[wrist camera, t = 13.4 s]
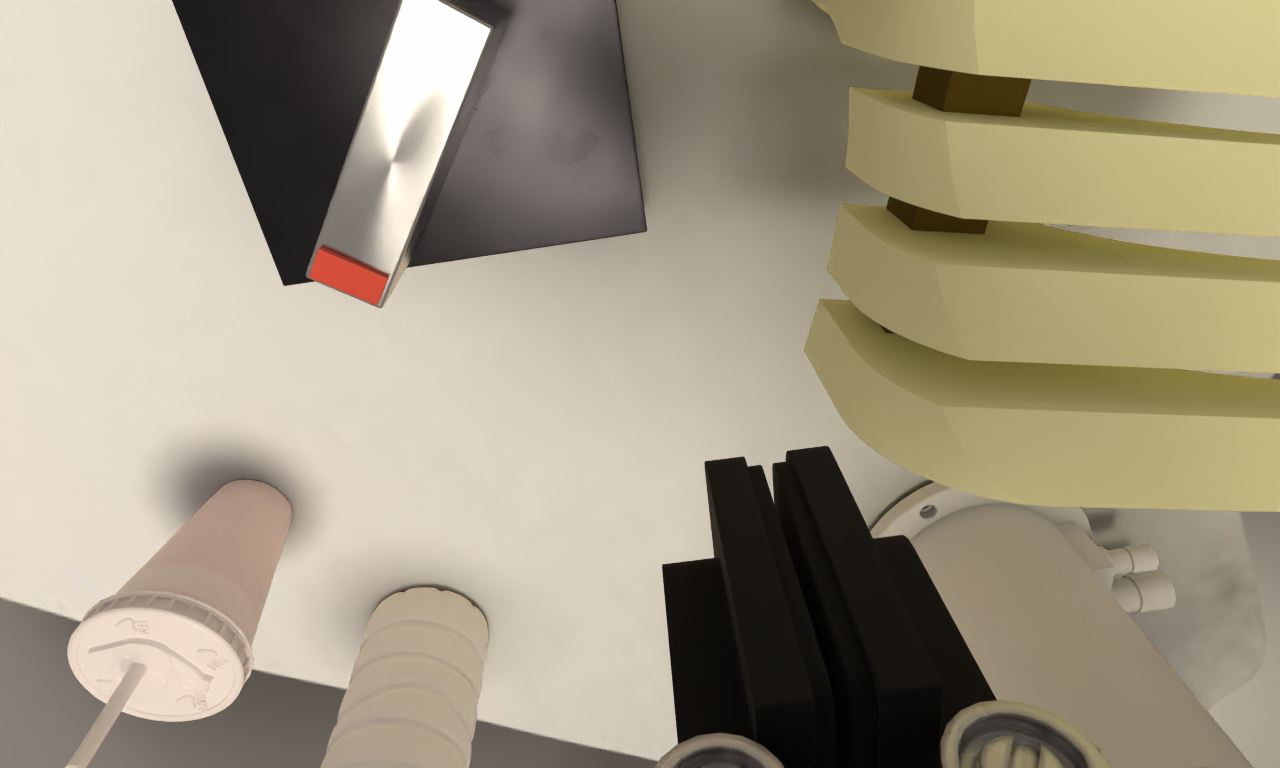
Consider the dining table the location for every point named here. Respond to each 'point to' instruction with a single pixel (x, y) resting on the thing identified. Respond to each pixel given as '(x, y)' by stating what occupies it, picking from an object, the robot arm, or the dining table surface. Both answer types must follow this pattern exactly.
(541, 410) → the dining table surface
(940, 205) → the slatted curved stool
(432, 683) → the water bottle
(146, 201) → the dining table surface
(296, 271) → the plate
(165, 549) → the smoothie
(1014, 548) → the robot arm
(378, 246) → the silver metal block
